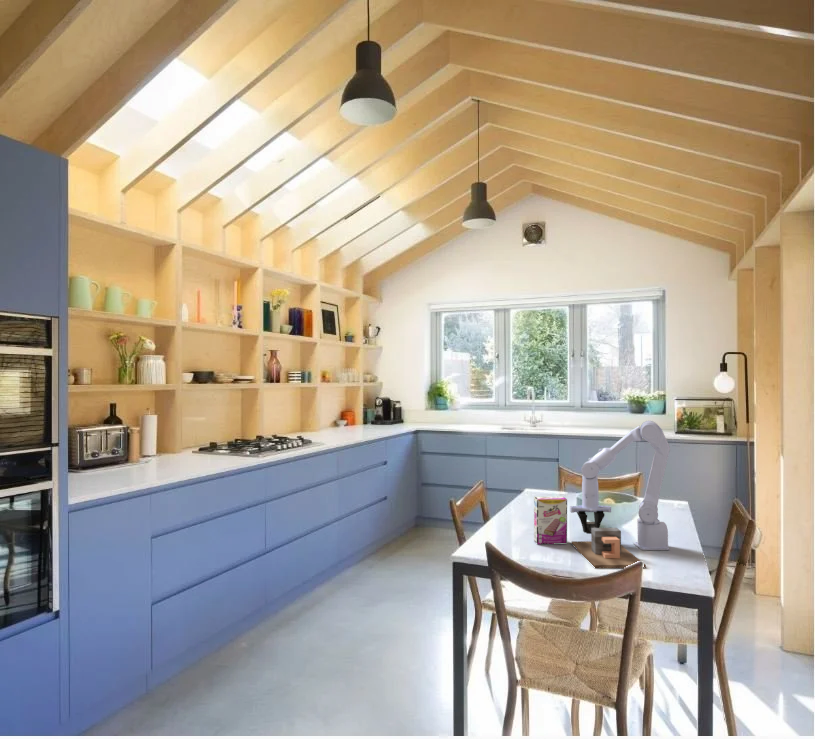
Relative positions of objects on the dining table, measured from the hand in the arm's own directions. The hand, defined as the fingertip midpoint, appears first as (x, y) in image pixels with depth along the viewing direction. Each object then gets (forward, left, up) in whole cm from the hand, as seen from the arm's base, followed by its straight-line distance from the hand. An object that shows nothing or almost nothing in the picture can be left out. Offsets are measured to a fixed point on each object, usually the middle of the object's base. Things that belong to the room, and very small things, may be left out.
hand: (590, 532), depth 210 cm
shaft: (0, +7, 0) cm, 7 cm away
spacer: (+2, +21, +1) cm, 21 cm away
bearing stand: (0, +16, -3) cm, 17 cm away
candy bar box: (+15, +1, -4) cm, 15 cm away
